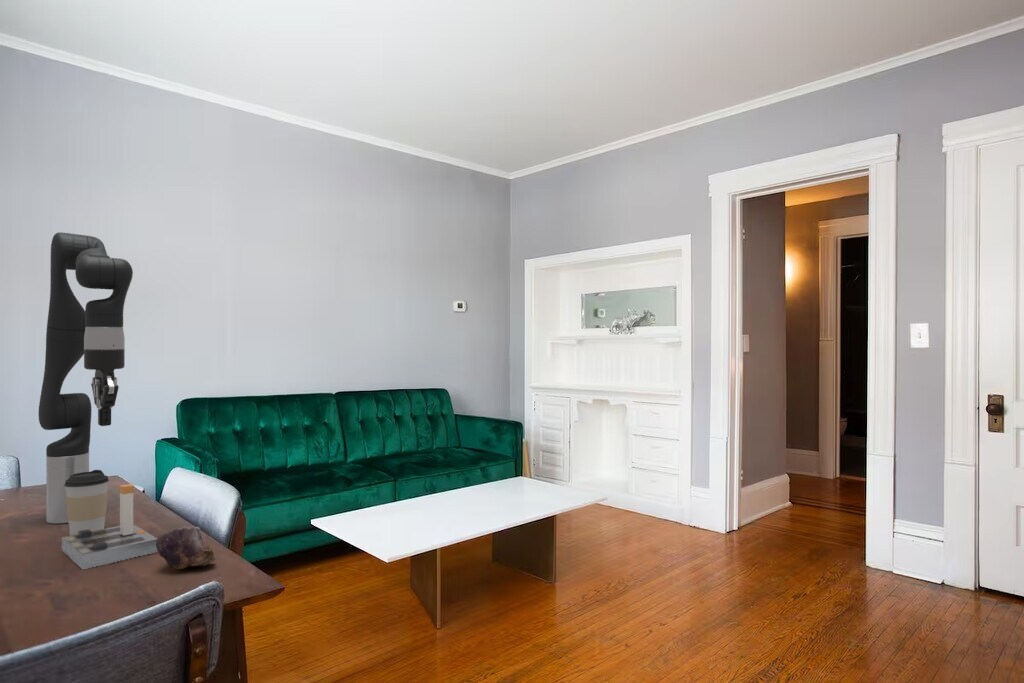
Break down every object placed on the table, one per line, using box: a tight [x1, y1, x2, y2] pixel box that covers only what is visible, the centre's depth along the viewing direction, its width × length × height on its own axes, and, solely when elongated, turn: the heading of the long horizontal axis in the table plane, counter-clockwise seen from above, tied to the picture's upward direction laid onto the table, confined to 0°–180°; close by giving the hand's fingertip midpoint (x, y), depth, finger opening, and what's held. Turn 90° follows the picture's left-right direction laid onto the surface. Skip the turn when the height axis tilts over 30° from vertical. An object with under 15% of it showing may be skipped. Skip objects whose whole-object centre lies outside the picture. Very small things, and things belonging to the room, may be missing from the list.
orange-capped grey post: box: [119, 483, 134, 536], centre depth 140 cm, size 2×2×11 cm
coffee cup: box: [64, 469, 110, 535], centre depth 151 cm, size 9×9×15 cm
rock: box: [156, 525, 216, 570], centre depth 128 cm, size 12×9×10 cm
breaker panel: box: [61, 523, 158, 571], centre depth 138 cm, size 18×14×4 cm
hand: (104, 425), depth 137 cm, fingers closed
